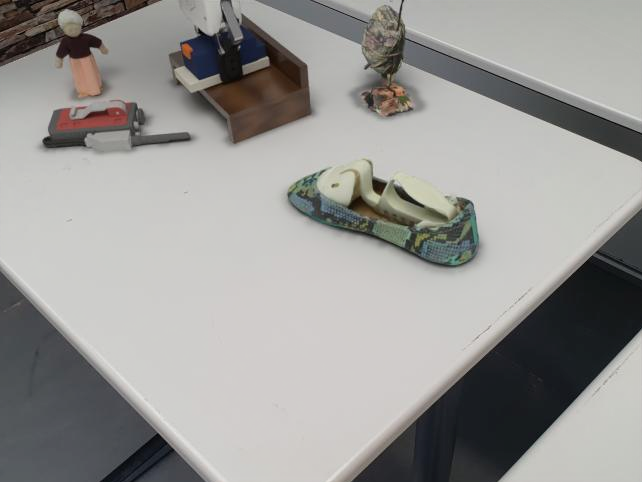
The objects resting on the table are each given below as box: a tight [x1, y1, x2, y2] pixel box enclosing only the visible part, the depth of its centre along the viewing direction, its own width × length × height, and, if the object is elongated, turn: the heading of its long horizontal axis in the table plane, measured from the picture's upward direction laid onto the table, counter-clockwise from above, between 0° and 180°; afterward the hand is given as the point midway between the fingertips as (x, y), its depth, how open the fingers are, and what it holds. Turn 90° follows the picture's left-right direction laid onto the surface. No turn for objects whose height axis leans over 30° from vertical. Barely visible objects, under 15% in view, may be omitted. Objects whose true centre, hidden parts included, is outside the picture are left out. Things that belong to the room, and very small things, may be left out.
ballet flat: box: [286, 157, 480, 266], centre depth 78 cm, size 9×24×8 cm, turn 60°
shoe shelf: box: [167, 12, 312, 145], centre depth 97 cm, size 12×20×8 cm, turn 32°
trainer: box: [174, 25, 270, 94], centre depth 94 cm, size 12×5×5 cm, turn 122°
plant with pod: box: [360, 0, 414, 118], centre depth 91 cm, size 8×11×20 cm
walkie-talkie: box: [41, 99, 191, 152], centre depth 94 cm, size 9×4×20 cm
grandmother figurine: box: [54, 8, 109, 99], centre depth 99 cm, size 8×4×13 cm, turn 129°
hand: (222, 68), depth 95 cm, fingers closed on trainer, 5 cm apart
